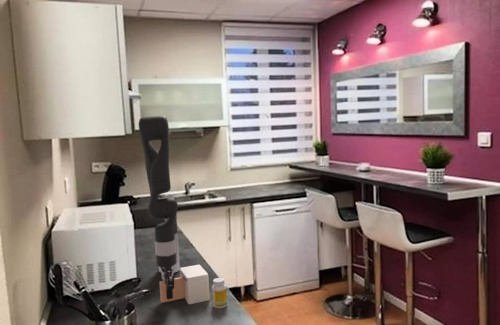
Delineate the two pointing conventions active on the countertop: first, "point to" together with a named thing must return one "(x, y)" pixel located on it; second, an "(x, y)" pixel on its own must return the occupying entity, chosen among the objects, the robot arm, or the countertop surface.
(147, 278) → the countertop surface
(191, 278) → the white rectangular block
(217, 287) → the supplement bottle
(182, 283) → the ticket
